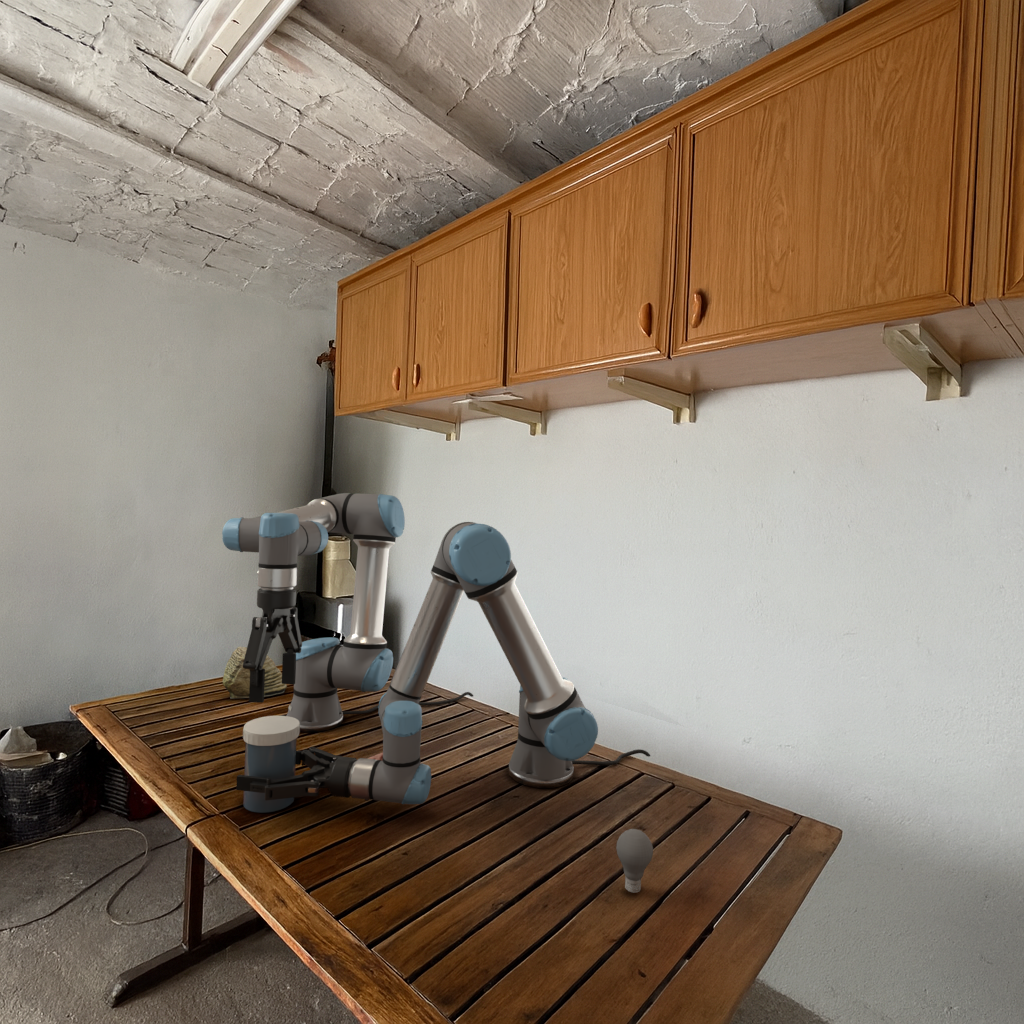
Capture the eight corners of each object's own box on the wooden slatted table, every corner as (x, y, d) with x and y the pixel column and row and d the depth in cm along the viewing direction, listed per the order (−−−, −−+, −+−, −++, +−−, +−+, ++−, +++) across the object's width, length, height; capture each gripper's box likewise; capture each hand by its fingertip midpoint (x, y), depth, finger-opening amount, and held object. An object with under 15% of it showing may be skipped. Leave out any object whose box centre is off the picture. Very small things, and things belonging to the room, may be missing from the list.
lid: (237, 731, 132) (238, 720, 132) (291, 723, 138) (291, 712, 138) (249, 750, 123) (249, 738, 123) (306, 740, 129) (306, 728, 129)
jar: (238, 796, 132) (241, 723, 132) (287, 786, 138) (289, 715, 138) (249, 817, 124) (251, 738, 124) (300, 805, 130) (302, 730, 129)
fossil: (218, 695, 195) (220, 647, 195) (278, 685, 208) (279, 640, 207) (228, 703, 189) (230, 653, 188) (289, 692, 201) (290, 645, 201)
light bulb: (610, 879, 108) (613, 822, 108) (644, 879, 109) (647, 822, 109) (619, 902, 102) (622, 840, 102) (655, 901, 103) (658, 840, 103)
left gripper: (289, 579, 143) (285, 675, 143) (225, 594, 119) (221, 709, 119) (320, 581, 142) (316, 677, 142) (262, 597, 118) (258, 713, 118)
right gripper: (328, 827, 116) (220, 815, 119) (374, 770, 141) (283, 761, 144) (330, 786, 116) (221, 775, 119) (375, 737, 141) (285, 728, 143)
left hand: (273, 692), depth 131 cm, fingers open, 12 cm apart
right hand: (255, 768), depth 131 cm, fingers open, 13 cm apart
